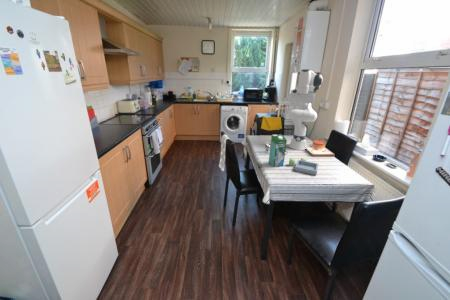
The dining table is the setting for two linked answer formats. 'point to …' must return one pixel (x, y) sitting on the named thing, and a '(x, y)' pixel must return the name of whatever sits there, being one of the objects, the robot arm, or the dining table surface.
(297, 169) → the bin
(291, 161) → the cucumber chunk
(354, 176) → the dining table surface
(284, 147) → the milk carton
